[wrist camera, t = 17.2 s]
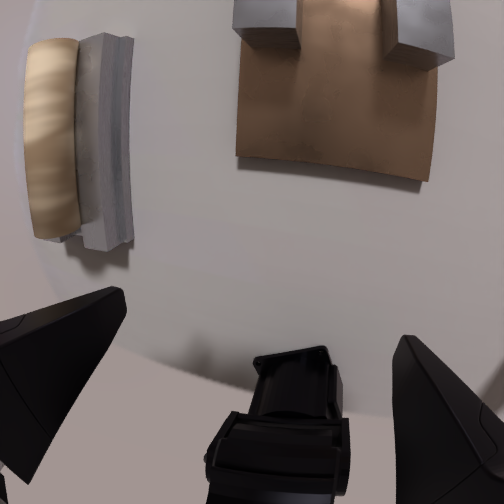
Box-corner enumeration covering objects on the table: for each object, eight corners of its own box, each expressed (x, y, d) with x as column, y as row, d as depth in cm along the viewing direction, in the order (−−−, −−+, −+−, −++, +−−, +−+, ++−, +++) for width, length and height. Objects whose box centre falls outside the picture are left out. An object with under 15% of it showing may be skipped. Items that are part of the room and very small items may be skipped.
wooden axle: (91, 223, 21) (55, 241, 17) (59, 219, 21) (25, 235, 18) (89, 42, 15) (50, 35, 11) (56, 55, 16) (18, 52, 12)
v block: (134, 238, 23) (112, 252, 20) (62, 228, 25) (40, 239, 22) (133, 38, 16) (109, 30, 14) (56, 62, 18) (32, 61, 15)
